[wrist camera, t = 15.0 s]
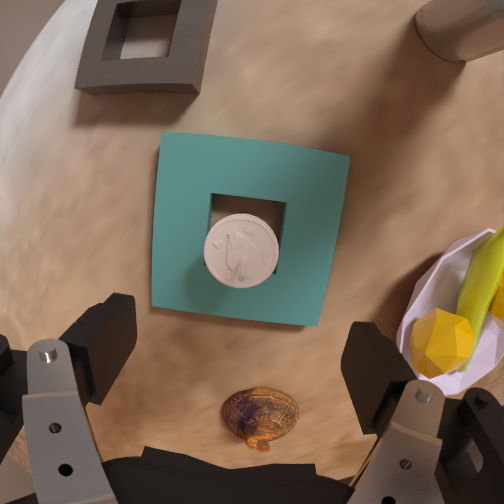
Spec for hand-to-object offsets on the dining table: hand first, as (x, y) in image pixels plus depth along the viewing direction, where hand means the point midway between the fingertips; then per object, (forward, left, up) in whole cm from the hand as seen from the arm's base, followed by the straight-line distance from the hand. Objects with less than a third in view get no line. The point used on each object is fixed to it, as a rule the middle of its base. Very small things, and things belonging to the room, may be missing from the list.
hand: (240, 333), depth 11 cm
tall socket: (+14, -20, -25) cm, 35 cm away
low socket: (0, +2, -25) cm, 25 cm away
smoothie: (0, +2, -25) cm, 25 cm away
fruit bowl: (-33, +8, -25) cm, 42 cm away
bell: (-6, +30, -25) cm, 39 cm away
